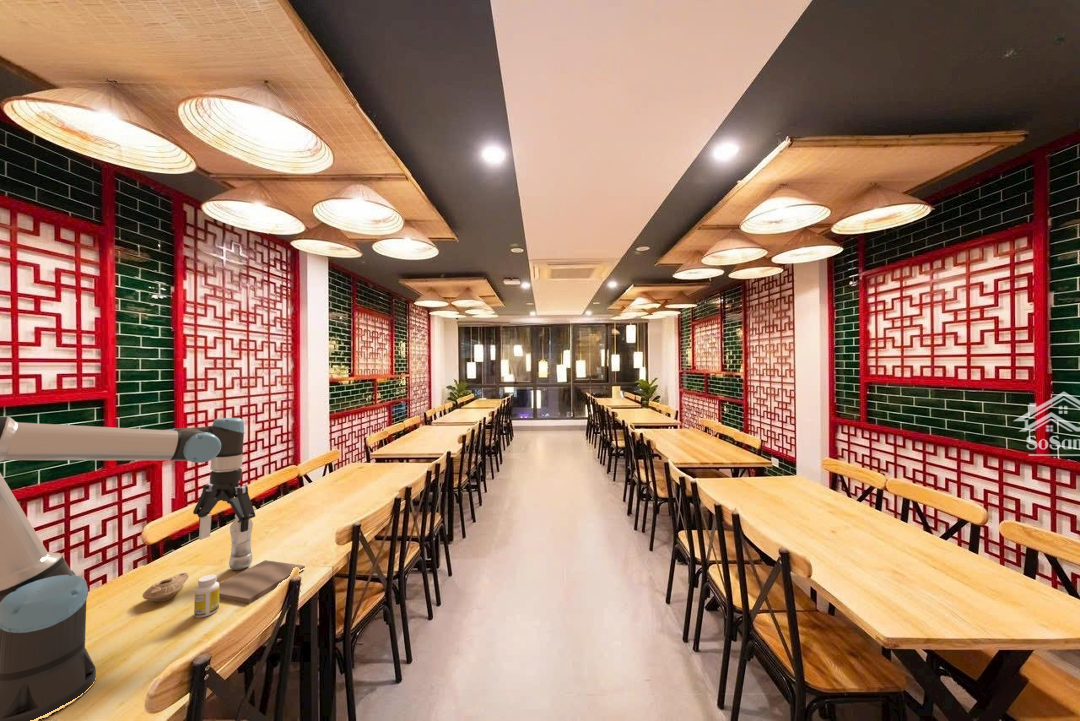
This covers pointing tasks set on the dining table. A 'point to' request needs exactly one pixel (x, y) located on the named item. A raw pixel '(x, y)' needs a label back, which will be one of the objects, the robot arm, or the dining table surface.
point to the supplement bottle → (206, 596)
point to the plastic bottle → (240, 548)
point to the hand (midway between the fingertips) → (222, 540)
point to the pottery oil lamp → (165, 588)
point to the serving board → (255, 581)
